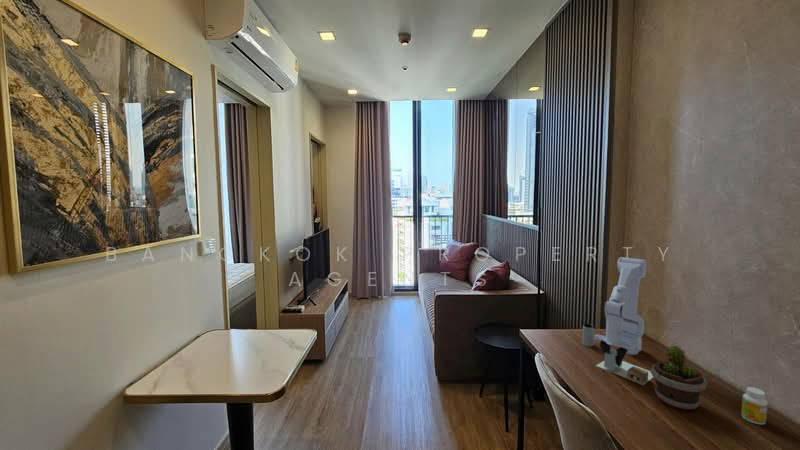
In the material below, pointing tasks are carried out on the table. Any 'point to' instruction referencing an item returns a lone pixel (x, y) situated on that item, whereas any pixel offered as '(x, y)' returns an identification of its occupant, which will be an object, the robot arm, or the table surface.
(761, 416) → the supplement bottle
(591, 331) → the grey cylinder
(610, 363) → the grey block
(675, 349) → the flowerpot
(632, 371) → the cover
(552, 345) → the table surface
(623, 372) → the base
